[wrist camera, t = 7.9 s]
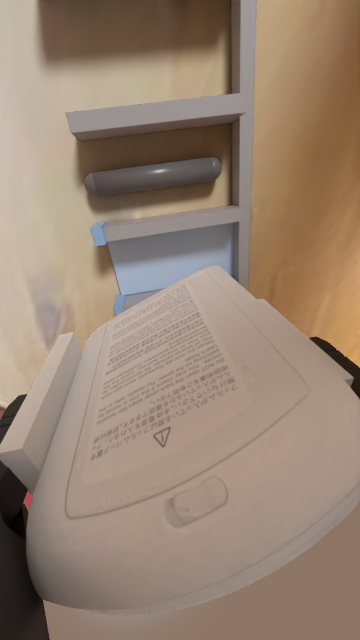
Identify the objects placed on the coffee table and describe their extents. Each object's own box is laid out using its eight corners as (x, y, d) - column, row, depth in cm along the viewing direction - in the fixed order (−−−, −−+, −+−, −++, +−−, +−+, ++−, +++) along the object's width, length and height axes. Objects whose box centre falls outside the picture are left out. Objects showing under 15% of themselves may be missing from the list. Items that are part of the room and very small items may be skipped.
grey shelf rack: (27, -27, 16) (-1, -81, 13) (246, -42, 17) (271, -95, 14) (119, 306, 29) (117, 321, 26) (241, 285, 30) (254, 297, 27)
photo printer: (116, 375, 17) (85, 677, 6) (77, 332, 15) (-65, 671, 4) (242, 307, 16) (453, 522, 6) (219, 252, 14) (481, 424, 3)
